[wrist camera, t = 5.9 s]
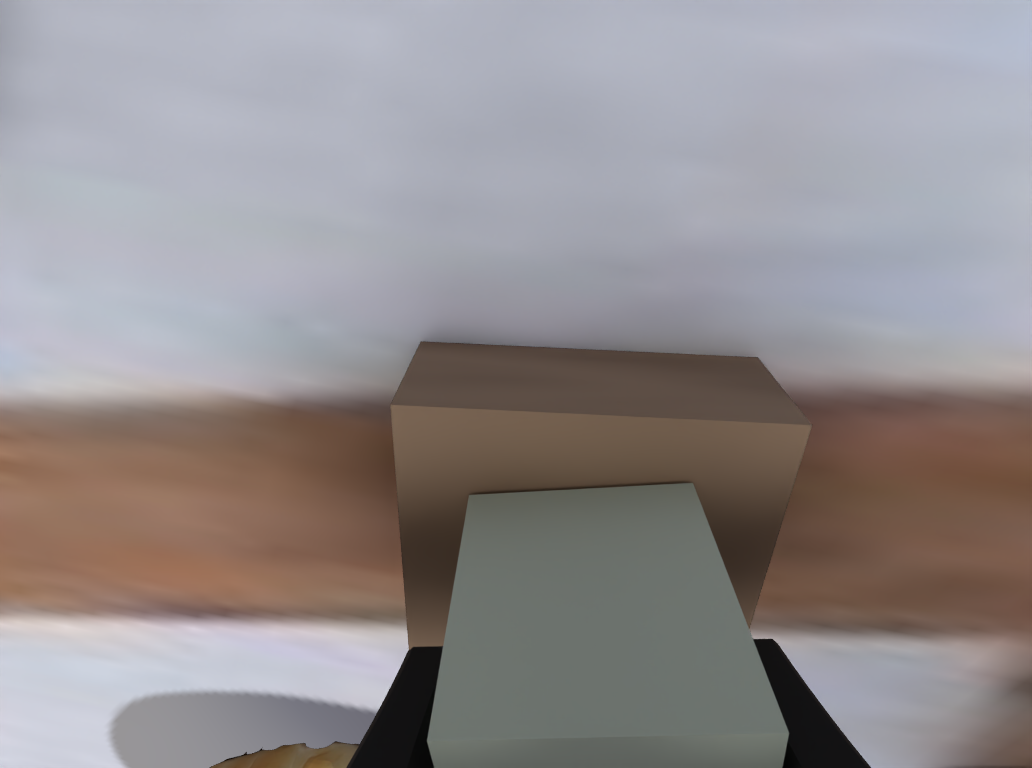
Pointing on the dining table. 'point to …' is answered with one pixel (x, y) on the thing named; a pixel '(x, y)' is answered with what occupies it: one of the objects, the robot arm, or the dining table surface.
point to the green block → (598, 639)
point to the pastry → (295, 757)
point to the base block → (586, 448)
